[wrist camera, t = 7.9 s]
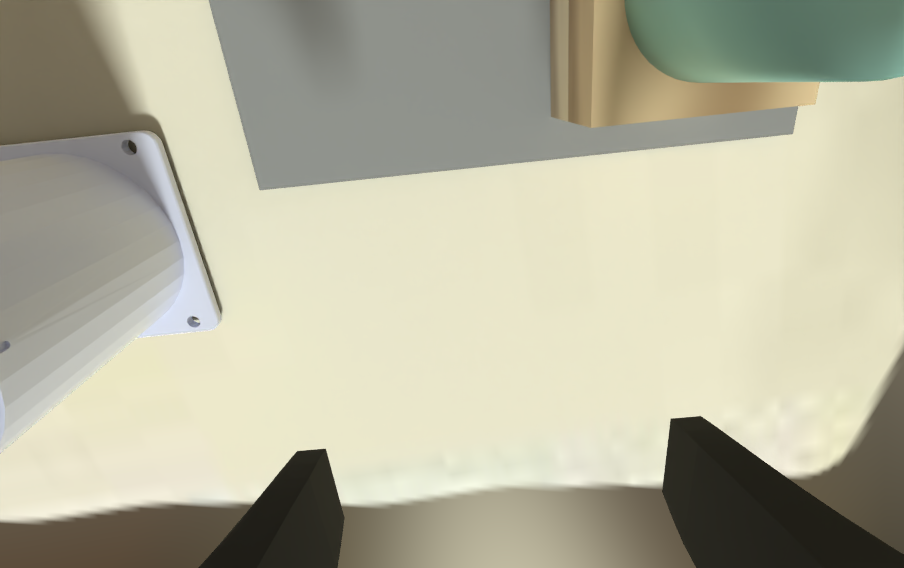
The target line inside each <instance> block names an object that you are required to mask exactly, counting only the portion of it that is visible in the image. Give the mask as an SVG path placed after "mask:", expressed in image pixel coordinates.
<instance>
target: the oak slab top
mask: <svg viewBox="0 0 904 568" xmlns="http://www.w3.org/2000/svg"><path fill="white" fill-rule="evenodd" d="M819 83H820V82H739V83H695V82H686V81H682V80H677V79H675V78H672V77H670V76H667V75H666V74H664V73H662V72H661V71H659V70H657V69H656V68H655V67H654V66H653V65H652V64H651V63H649V62H648V60H647V59H646V58H645V57H644V56H643V54H642V53H641V52H640V50H639V48H638V47H637V45H636V44H635V41H634V39H633V37H632V34H631V32H630V29H629V25H628V22H627V17H626V11H625V0H569V32H568V122H571V123H575V124H578V125H582V126H586V127H589V128H595V127H605V126H614V125H624V124H633V123H643V122H652V121H662V120H671V119H681V118H690V117H700V116H709V115H719V114H728V113H737V112H747V111H756V110H766V109H775V108H785V107H794V106H804V105H813V104H815V103H816V98H817V93H818V88H819Z"/></svg>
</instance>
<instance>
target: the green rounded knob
mask: <svg viewBox="0 0 904 568" xmlns="http://www.w3.org/2000/svg"><path fill="white" fill-rule="evenodd" d="M625 11H626V17H627V22H628V25H629V29H630V32H631V34H632V37H633V39H634V41H635V44H636V45H637V47H638V48H639V50H640V52H641V53H642V54H643V56H644V57H645V58H646V59H647V60H648V62H649V63H651V64H652V65H653V66H654V67H655V68H656V69H657V70H659V71H661V72H662V73H664V74H666V75H667V76H670V77H672V78H675V79H677V80H682V81H686V82H695V83H739V82H861V81H879V80H887V79H892V78H897V77H902V76H904V0H625Z"/></svg>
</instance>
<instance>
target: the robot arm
mask: <svg viewBox="0 0 904 568" xmlns="http://www.w3.org/2000/svg"><path fill="white" fill-rule="evenodd" d="M129 140H131V141H132V142H134V143H135V145H136V147H137V152H136V153H134V152H132V151H131V150H130V149H129V147H128V142H129ZM192 316H194V317H197V318H198V319H199V320H200V323H197V322H195V321H194V320H193V319H192ZM221 320H222V318H221V314H220V311H219V308H218V305H217V302H216V299H215V296H214V293H213V290H212V287H211V284H210V281H209V278H208V275H207V272H206V269H205V266H204V264H203V261H202V258H201V255H200V252H199V249H198V246H197V243H196V240H195V237H194V234H193V231H192V228H191V225H190V222H189V219H188V217H187V214H186V211H185V208H184V205H183V202H182V199H181V196H180V193H179V190H178V187H177V184H176V181H175V178H174V175H173V172H172V170H171V167H170V164H169V161H168V158H167V155H166V152H165V149H164V146H163V143H162V141H161V140H160V138H159V137H158V136H157V135H156V134H155V133H153V132H151V131H146V130H142V131H133V132H123V133H114V134H104V135H95V136H86V137H76V138H67V139H58V140H48V141H39V142H29V143H20V144H11V145H1V146H0V453H1V452H3V451H4V450H5V449H6V448H7V447H8V446H10V445H11V444H12V443H13V442H14V441H16V440H17V439H18V438H19V437H20V436H21V435H23V434H24V433H25V432H26V431H27V430H29V429H30V428H31V427H32V426H33V425H34V424H36V423H37V422H38V421H39V420H40V419H41V418H43V417H44V416H45V415H46V414H47V413H49V412H50V411H51V410H52V409H53V408H54V407H56V406H57V405H58V404H59V403H60V402H62V401H63V400H64V399H65V398H66V397H67V396H69V395H70V394H71V393H72V392H73V391H75V390H76V389H77V388H78V387H79V386H80V385H82V384H83V383H84V382H85V381H86V380H87V379H89V378H90V377H91V376H92V375H93V374H95V373H96V372H97V371H98V370H99V369H100V368H102V367H103V366H104V365H105V364H106V363H108V362H109V361H110V360H111V359H112V358H113V357H115V356H116V355H117V354H118V353H119V352H121V351H122V350H123V349H124V348H125V347H126V346H128V345H129V344H130V343H131V342H132V341H134V340H135V339H136V338H143V337H152V336H162V335H172V334H181V333H191V332H201V331H210V330H213V329H215V328H216V327H217V326H218V325H219V324H220V323H221ZM662 492H663V495H664V497H665V500H666V502H667V505H668V507H669V510H670V513H671V515H672V518H673V520H674V523H675V525H676V527H677V529H678V532H679V534H680V537H681V539H682V541H683V544H684V545H685V547H686V549H687V551H688V553H689V555H690V557H691V559H692V561H693V562H694V564H695V566H696V568H904V554H902V553H900V552H899V551H897V550H895V549H894V548H892V547H891V546H889V545H887V544H886V543H884V542H883V541H881V540H880V539H878V538H876V537H875V536H873V535H872V534H870V533H869V532H867V531H865V530H864V529H862V528H861V527H859V526H858V525H856V524H854V523H853V522H851V521H850V520H848V519H847V518H845V517H844V516H842V515H841V514H839V513H838V512H836V511H835V510H833V509H832V508H830V507H829V506H827V505H826V504H824V503H823V502H821V501H820V500H818V499H817V498H815V497H814V496H812V495H811V494H810V493H808V492H806V491H805V490H804V489H802V488H801V487H799V486H798V485H797V484H795V483H794V482H792V481H791V480H789V479H788V478H786V477H785V476H784V475H782V474H781V473H779V472H778V471H777V470H775V469H774V468H772V467H771V466H770V465H768V464H767V463H765V462H764V461H763V460H761V459H760V458H759V457H757V456H756V455H754V454H753V453H752V452H750V451H749V450H747V449H746V448H745V447H743V446H742V445H741V444H739V443H738V442H736V441H735V440H734V439H732V438H731V437H729V436H728V435H727V434H725V433H724V432H723V431H721V430H720V429H718V428H717V427H716V426H714V425H713V424H711V423H710V422H708V421H707V420H706V419H704V418H703V417H701V416H698V417H686V418H675V419H671V422H670V430H669V439H668V447H667V456H666V464H665V473H664V481H663V490H662ZM343 524H344V515H343V511H342V507H341V504H340V500H339V496H338V493H337V489H336V485H335V481H334V478H333V474H332V470H331V467H330V463H329V459H328V456H327V452H326V449H318V450H306V451H297V452H296V453H295V454H294V456H293V457H292V458H291V459H290V460H289V462H288V463H287V464H286V465H285V466H284V467H283V469H282V470H281V471H280V472H279V474H278V475H277V476H276V477H275V478H274V480H273V481H272V482H271V483H270V485H269V486H268V487H267V488H266V490H265V491H264V492H263V493H262V494H261V496H260V497H259V498H258V499H257V501H256V502H255V503H254V504H253V505H252V507H251V508H250V509H249V510H248V511H247V513H246V514H245V515H244V516H243V517H242V519H241V520H240V521H239V522H238V523H237V524H236V526H235V527H234V528H233V529H232V530H231V531H230V533H229V534H228V535H227V536H226V537H225V538H224V540H223V541H222V542H221V543H220V545H218V547H217V548H216V549H215V550H214V551H213V552H212V553H211V555H210V556H209V557H208V558H207V559H206V560H205V561H204V562H203V563H202V564H201V566H200V567H199V568H337V567H338V560H339V554H340V547H341V540H342V532H343Z"/></svg>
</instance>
